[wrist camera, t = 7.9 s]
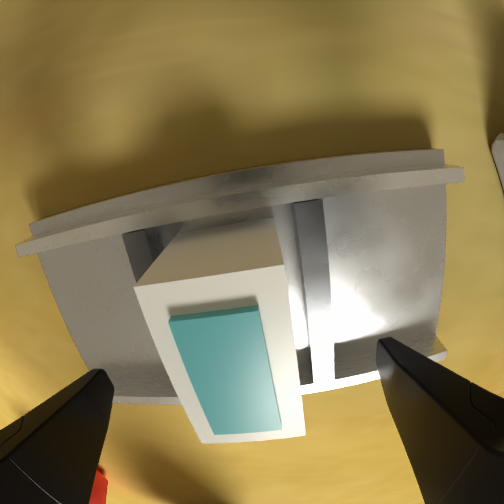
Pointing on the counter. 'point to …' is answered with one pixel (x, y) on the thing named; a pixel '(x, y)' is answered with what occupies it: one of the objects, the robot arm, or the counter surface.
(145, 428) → the counter surface
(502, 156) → the electrical switch
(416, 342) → the grey tray
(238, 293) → the module
